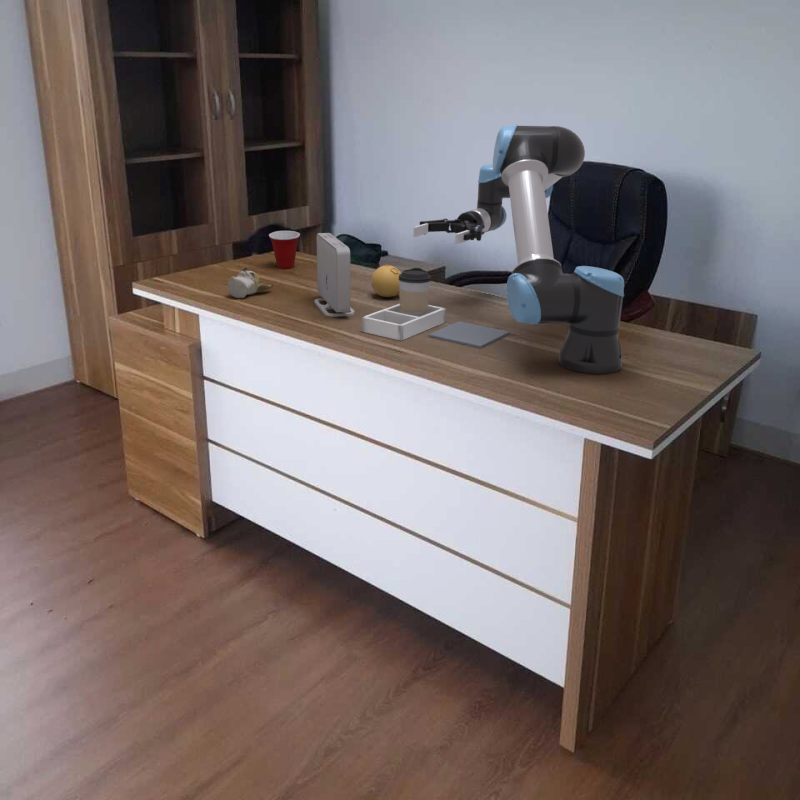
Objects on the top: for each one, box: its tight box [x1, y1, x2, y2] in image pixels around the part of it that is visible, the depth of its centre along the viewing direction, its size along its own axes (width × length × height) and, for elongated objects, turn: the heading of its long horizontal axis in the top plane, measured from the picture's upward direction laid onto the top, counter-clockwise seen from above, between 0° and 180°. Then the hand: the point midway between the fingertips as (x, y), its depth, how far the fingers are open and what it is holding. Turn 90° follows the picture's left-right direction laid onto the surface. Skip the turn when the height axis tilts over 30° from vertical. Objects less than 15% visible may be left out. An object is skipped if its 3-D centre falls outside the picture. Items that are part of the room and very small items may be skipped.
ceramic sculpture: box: [227, 267, 274, 299], centre depth 253 cm, size 11×9×15 cm
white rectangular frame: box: [361, 303, 447, 341], centre depth 225 cm, size 13×22×4 cm, turn 145°
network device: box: [314, 232, 355, 318], centre depth 239 cm, size 26×9×20 cm, turn 18°
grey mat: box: [427, 320, 511, 349], centre depth 220 cm, size 16×16×1 cm
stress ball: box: [371, 264, 402, 298], centre depth 254 cm, size 10×10×10 cm
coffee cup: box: [398, 267, 432, 317], centre depth 227 cm, size 9×9×15 cm
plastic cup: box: [268, 230, 301, 270], centre depth 289 cm, size 11×11×12 cm
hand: (435, 235), depth 227 cm, fingers open, 13 cm apart
